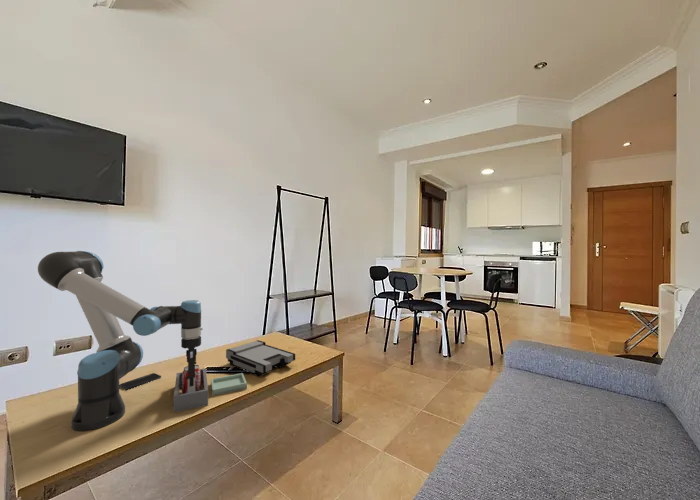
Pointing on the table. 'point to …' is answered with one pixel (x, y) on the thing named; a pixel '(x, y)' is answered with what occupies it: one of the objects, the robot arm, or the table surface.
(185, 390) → the soda can
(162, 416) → the table surface
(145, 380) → the phone
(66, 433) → the table surface
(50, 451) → the table surface
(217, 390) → the green tray
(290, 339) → the table surface
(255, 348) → the office tray
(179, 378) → the can holder
